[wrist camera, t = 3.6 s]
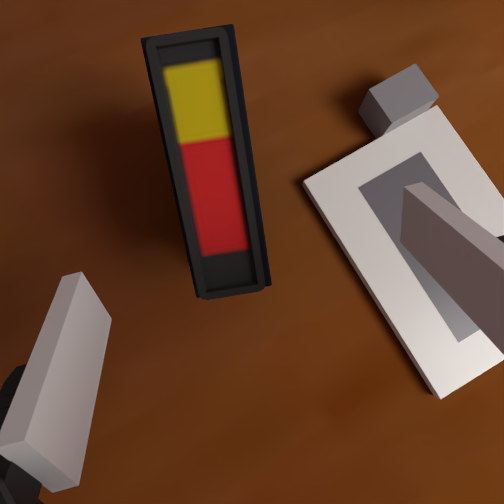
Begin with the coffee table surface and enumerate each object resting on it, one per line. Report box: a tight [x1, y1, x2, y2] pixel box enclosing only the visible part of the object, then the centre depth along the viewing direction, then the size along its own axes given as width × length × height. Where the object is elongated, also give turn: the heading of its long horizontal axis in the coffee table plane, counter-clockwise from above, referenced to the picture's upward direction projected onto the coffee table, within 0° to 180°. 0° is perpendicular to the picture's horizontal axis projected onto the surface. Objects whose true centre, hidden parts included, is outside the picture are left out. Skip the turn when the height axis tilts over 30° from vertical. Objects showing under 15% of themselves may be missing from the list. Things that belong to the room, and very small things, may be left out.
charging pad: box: [302, 63, 504, 399], centre depth 26 cm, size 21×12×3 cm, turn 30°
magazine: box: [141, 24, 272, 300], centre depth 22 cm, size 4×13×15 cm, turn 9°
